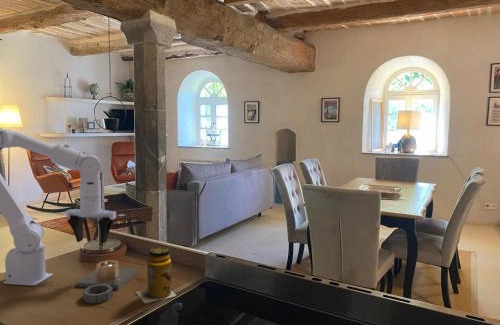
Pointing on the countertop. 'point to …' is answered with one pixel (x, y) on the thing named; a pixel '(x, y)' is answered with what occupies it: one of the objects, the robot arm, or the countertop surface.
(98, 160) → the robot arm
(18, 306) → the countertop surface
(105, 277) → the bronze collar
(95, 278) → the piston stand
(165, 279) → the condiment
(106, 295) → the grey octagonal ring
